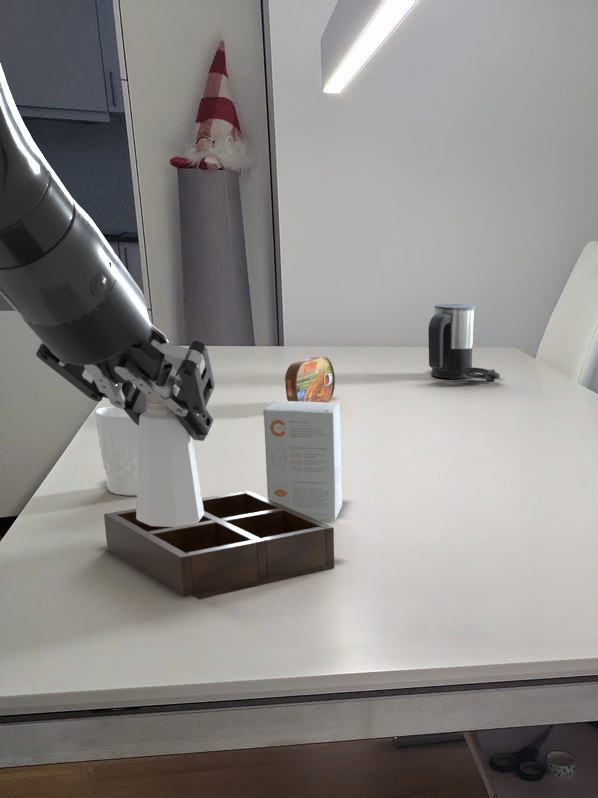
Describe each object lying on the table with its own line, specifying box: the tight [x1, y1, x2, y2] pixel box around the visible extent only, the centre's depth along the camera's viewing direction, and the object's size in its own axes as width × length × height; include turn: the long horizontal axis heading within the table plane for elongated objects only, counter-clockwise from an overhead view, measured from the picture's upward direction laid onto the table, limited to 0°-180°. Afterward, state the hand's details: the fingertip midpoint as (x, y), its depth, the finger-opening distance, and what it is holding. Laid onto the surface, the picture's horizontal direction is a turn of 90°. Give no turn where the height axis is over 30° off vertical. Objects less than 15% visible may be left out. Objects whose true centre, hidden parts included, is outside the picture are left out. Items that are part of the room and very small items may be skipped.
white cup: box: [94, 405, 139, 497], centre depth 130 cm, size 8×8×10 cm
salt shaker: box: [135, 382, 204, 527], centre depth 82 cm, size 5×5×11 cm
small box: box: [262, 400, 343, 522], centre depth 123 cm, size 8×6×13 cm
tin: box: [284, 356, 336, 403], centre depth 186 cm, size 15×3×8 cm, turn 161°
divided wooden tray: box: [103, 490, 335, 600], centre depth 107 cm, size 17×17×4 cm
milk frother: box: [427, 303, 501, 383], centre depth 220 cm, size 14×16×15 cm
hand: (178, 427), depth 83 cm, fingers closed on salt shaker, 4 cm apart
